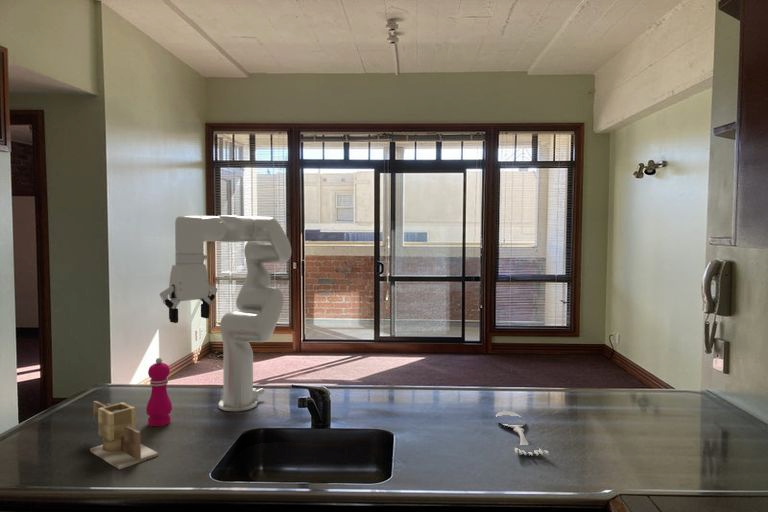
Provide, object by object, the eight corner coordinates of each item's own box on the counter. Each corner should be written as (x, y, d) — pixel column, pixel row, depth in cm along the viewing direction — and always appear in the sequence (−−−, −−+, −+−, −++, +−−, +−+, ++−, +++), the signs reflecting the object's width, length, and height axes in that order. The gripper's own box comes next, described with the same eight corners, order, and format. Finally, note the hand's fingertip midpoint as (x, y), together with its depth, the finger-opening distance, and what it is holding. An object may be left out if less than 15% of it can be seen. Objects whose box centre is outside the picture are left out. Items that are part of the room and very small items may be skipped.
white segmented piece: (515, 463, 137) (515, 450, 137) (492, 418, 169) (492, 408, 169) (549, 464, 137) (550, 451, 137) (520, 419, 169) (520, 408, 169)
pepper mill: (162, 428, 155) (162, 361, 154) (141, 426, 156) (140, 360, 155) (177, 419, 162) (176, 355, 161) (156, 417, 164) (155, 354, 162)
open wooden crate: (82, 425, 145) (82, 400, 145) (106, 418, 151) (106, 394, 150) (110, 440, 136) (109, 414, 135) (135, 433, 141) (135, 407, 140)
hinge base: (90, 451, 139) (89, 413, 138) (127, 439, 147) (127, 403, 146) (119, 469, 129) (118, 428, 128) (158, 455, 137) (157, 417, 136)
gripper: (208, 258, 157) (208, 314, 158) (153, 260, 143) (153, 322, 144) (223, 259, 152) (223, 317, 153) (168, 262, 139) (168, 326, 140)
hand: (189, 320), depth 149 cm, fingers open, 9 cm apart
